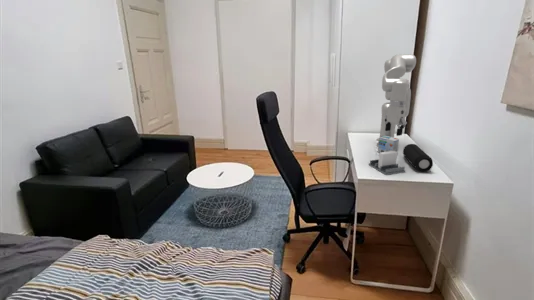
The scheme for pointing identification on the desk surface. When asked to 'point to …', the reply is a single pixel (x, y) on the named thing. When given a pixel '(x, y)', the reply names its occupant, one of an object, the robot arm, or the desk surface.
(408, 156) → the portable speaker
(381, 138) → the light bulb box
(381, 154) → the white block
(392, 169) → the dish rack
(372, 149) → the desk surface
